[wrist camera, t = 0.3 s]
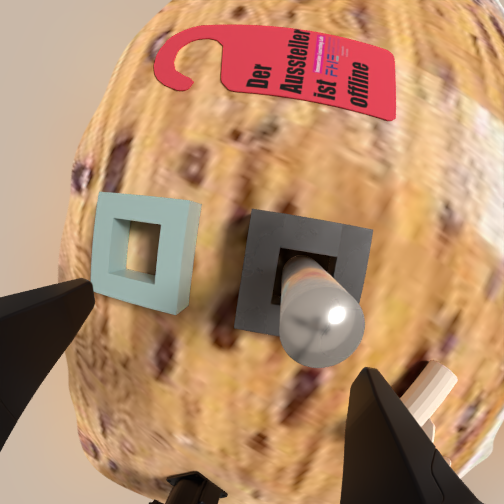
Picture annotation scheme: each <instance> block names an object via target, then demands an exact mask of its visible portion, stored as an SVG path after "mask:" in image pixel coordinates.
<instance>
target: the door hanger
mask: <svg viewBox="0 0 504 504" xmlns="http://www.w3.org/2000/svg"><path fill="white" fill-rule="evenodd" d="M200 39H213V40H217V41H218V42H219V43H220V44H222V45H223V56H222V71H221V81H222V83H223V84H224V85H225V86H226V87H227V88H228V90H230V91H234V92H244V93H255V94H264V95H272V96H280V97H287V98H293V99H299V100H305V101H311V102H316V103H321V104H326V105H330V106H335V107H339V108H343V109H348V110H352V111H355V112H359V113H363V114H367V115H370V116H374V117H377V118H380V119H384V120H387V121H392V120H394V119H395V118H396V81H395V61H394V56H393V54H392V53H391V52H389V51H388V50H386V49H383V48H380V47H376V46H373V45H370V44H366V43H363V42H359V41H355V40H351V39H347V38H343V37H339V36H334V35H329V34H324V33H319V32H313V31H307V30H300V29H293V28H284V27H274V26H260V25H201V26H196V27H192V28H189V29H186V30H184V31H181V32H179V33H177V34H175V35H174V36H172V37H171V38H170V39H168V40H167V41H166V43H165V44H164V45H163V46H162V47H161V49H160V50H159V52H158V54H157V56H156V59H155V63H154V72H155V75H156V77H157V79H158V80H159V81H160V82H162V83H163V84H164V85H165V86H168V87H170V88H173V89H175V90H177V91H186V90H188V89H189V88H190V87H191V86H192V84H193V83H194V82H193V81H192V80H191V79H190V78H189V77H186V76H184V75H182V74H181V73H179V72H178V71H176V70H175V66H174V60H175V58H176V55H177V52H178V51H179V50H180V49H181V48H182V47H183V46H185V45H187V44H188V43H190V42H193V41H196V40H200Z"/></svg>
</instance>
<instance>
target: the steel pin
mask: <svg viewBox="0 0 504 504" xmlns="http://www.w3.org/2000/svg"><path fill="white" fill-rule="evenodd" d="M364 328H365V320H364V315H363V312H362V309H361V307H360V305H359V304H358V302H357V301H356V300H355V299H354V298H353V297H352V296H351V295H350V294H349V293H348V292H347V291H346V290H345V289H344V288H343V287H342V286H341V285H340V284H339V283H338V282H337V281H336V280H335V279H334V278H333V277H332V276H330V275H329V274H328V273H327V272H326V271H325V270H324V269H323V268H322V267H321V266H320V265H319V264H318V263H317V262H316V261H315V260H314V259H312V258H311V257H308V256H305V255H298V256H295V257H292V258H291V259H289V260H288V261H287V262H286V264H285V265H284V267H283V271H282V287H281V309H280V328H279V334H280V340H281V343H282V346H283V348H284V350H285V351H286V353H287V354H288V355H289V356H290V357H291V358H292V359H293V360H295V361H296V362H298V363H300V364H302V365H304V366H308V367H313V368H324V367H330V366H333V365H336V364H338V363H340V362H342V361H344V360H345V359H346V358H348V357H349V356H350V355H351V354H352V353H353V352H354V351H355V350H356V348H357V347H358V345H359V344H360V342H361V340H362V337H363V334H364Z"/></svg>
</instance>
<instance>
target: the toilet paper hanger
mask: <svg viewBox="0 0 504 504" xmlns="http://www.w3.org/2000/svg"><path fill="white" fill-rule="evenodd" d="M457 381H458V379H457V377H456V376H455V374H454V373H453V372H452V371H451V370H449V369H448V368H447V367H445V366H444V365H443V364H441V363H439V362H437V361H434V360H430V361H429V363H428V364H427V366H426V367H425V368H424V370H423V371H422V372H421V373H420V375H419V376H418V377H417V379H416V380H415V381H414V382H413V384H412V385H411V386H410V387H409V388H408V390H407V391H406V392H405V393H404V394H403V396H402V397H401V398H400V399H401V401H402V402H403V403H404V405H405V406H406V407H407V409H408V410H409V411H410V413H411V414H412V415H413V417H414V418H415V419H416V421H417V422H418V424H419V425H420V426H421V428H422V429H423V430H424V432H425V433H426V434H427V436H428V437H429V439H430V440H431V441H432V443H433V442H434V434H435V426H434V424H433V422H432V421H431V419H430V416H431V415H432V414H433V413H434V412H435V410H436V409H437V408H438V407H439V405H440V404H441V403H442V402H443V400H444V399H445V398H446V396H447V395H448V394H449V392H450V391H451V389H452V388H453V387H454V385H455V384H456V382H457ZM443 458H444V459H445V460H446V462H447V463H448V464H449V466H451V461H450V459H449V458H448V457H443Z"/></svg>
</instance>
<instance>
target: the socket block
mask: <svg viewBox="0 0 504 504" xmlns="http://www.w3.org/2000/svg"><path fill="white" fill-rule="evenodd" d="M372 234H373V230H372V229H367V228H361V227H356V226H351V225H346V224H341V223H335V222H330V221H324V220H318V219H313V218H307V217H301V216H295V215H289V214H283V213H276V212H270V211H263V210H257V209H252V212H251V218H250V225H249V231H248V238H247V244H246V251H245V257H244V264H243V270H242V277H241V283H240V290H239V297H238V303H237V310H236V317H235V323H234V328H236V329H241V330H246V331H252V332H257V333H263V334H268V335H274V336H280V334H279V328H280V309H281V296H276V295H272V293H273V287H274V281H275V275H276V269H277V264H278V258H279V251H280V247H281V248H287V249H293V250H299V251H305V252H311V253H317V254H323V255H329V256H330V258H329V264H328V269H327V273H328V274H329V275H330V276H332V277H333V278H334V279H335V280H336V281H337V282H338V283H339V284H340V285H341V286H342V287H343V288H344V289H345V290H346V291H347V292H348V293H349V294H350V295H351V296H352V297H353V298H354V299H355V300H356V301H357V302H358V304H359V302H360V298H361V293H362V289H363V284H364V279H365V274H366V269H367V264H368V258H369V253H370V247H371V241H372Z"/></svg>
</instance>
